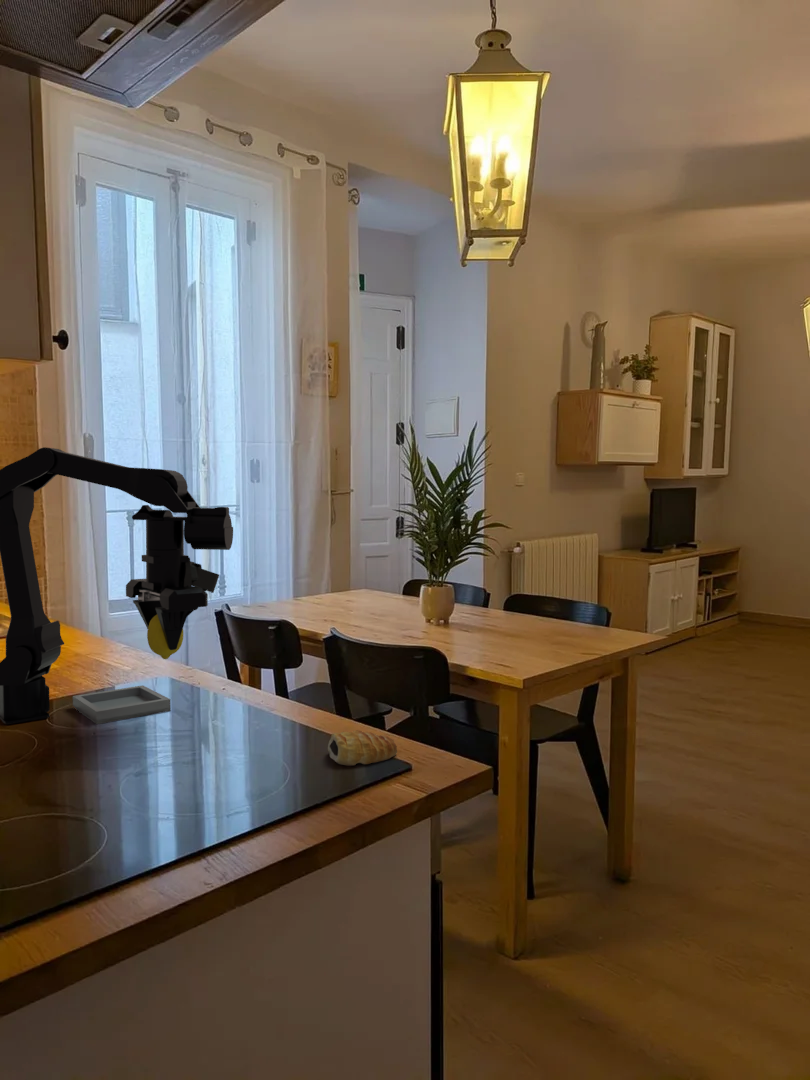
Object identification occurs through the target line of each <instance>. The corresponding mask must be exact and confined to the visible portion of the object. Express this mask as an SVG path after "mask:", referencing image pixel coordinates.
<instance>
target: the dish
mask: <svg viewBox="0 0 810 1080" xmlns="http://www.w3.org/2000/svg"><path fill="white" fill-rule="evenodd" d="M73 706H74V707H75V708H76V709H77V710H78V711H79V712H78V711H77V710H76V711H77V712H78V713H80V714H81V713H82V714H81V715H82V716H84V717H85V718H87V719H88V720H90V721H91V722H93V723H94V724H96V725H100V724H105V723H112V722H116V721H122V720H128V719H134V718H139V717H145V716H151V715H156V714H161V713H162V714H163V713H168V712H171V710H172V709H171V708H172V707H171V699H170V698H169V697H167V696H165V695H163V694H161V693H159V692H158V691H155V690H153V689H151V688H149V687H147V686H145V685H137V686H130V687H124V688H123V687H122V688H116V689H110V690H105V691H104V690H103V691H98V692H91V693H85V694H78V695H77V694H76V695H73V696H72V707H73Z"/></svg>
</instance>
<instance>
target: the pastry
mask: <svg viewBox="0 0 810 1080" xmlns="http://www.w3.org/2000/svg"><path fill="white" fill-rule="evenodd" d="M327 751H328V753H329V757H330V759H332V760H333V761H334V762H336V764H338V765H343V766H345V767H346V766H356V764H362V765H369V764H371V763H379V762H383V761H386V760H390V759H391V758H393V757H394V756H396V755H397V753H398V746H397V744H396V742H395V739H393V738H392V737H390V736H387V735H385V734H381V735H378V734H377V733H375V732H368V731H362V730H359V729H357V730H353V731H342V732H340V733H339V732H338V733H335V732H334V733H332V734H331V736H330V739H329V740H328V745H327Z"/></svg>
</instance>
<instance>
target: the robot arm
mask: <svg viewBox="0 0 810 1080" xmlns="http://www.w3.org/2000/svg"><path fill="white" fill-rule="evenodd" d="M56 476H63V477H67V478H70V479H75V480H80V481H83V482H88V483H90V484H91V483H92V484H96V485H100V486H103V487H108V488H112V489H117V490H119V491H122V492H124V493H126V494H128V495H130V496H131V497H133V498H136V499H138V500H141V501H142V502H144V503H146V504H142V506H141V507H140V508H139V510H138V511H137V512H135V513H134V514H132V516H131V519H132V520H133V521H145V550H146V551H145V554H141V562H144V563H145V578H134V579H133V578H132V579H130V580H129V581H128V582H127V584H126V585H125V597H127V598H130V599H133V598H134V599H133V600H132V603H133V604H134V605H135V607H136V609H137V611H138V613H139V614H140V616H141V619H142V621H143V623H144V625H145V626H146V630H148V626H149V623H150V621H151V619H152V618H153V617H154V616H155V615H158V618H159V621H160V624H161V627H162V630H163V634H164V637H165V640H166V643H167V645H168V648H169V650H175V649H177V646H178V642H179V639H180V636H181V633H182V629H183V630H184V626H185V624H186V620H187V618H188V616H190V615H191V614H192V613H193V612H194V611H197V610H198V609H199V608H204V607H208V605H209V604H208V603H209V601H208V600H209V599H208V593H207V592H209V593H214V592H215V589H216V585H217V582H218V581H219V577H220V574H219V573H216V572H213V571H210V570H207V569H203V567H202V564H201V563H196V562H195V561H191V557H189V555H186V554H185V553H184V552H185V547H184V544H185V543H186V544H190V546H191V548H192V549H193V550H207V551H208V550H211V551H213V550H215V551H216V550H217V551H219V550H220V551H222V550H223V551H227V550H228V551H229V550H231V548H232V545H233V539H234V526H233V524H232V519H231V515H230V508H229V506H217V507H200V505H199V504H198V503H197V501H196V500H195V499H194V497H193V496H192V494H191V493H190V492H189V491H188V488H189V487H188V484H187V483H188V482H187V480H186V478H185V477H184V475H183V474H182V473H180V472H178V471H176V470H171V469H161V468H145V467H128V466H125V465H122V464H121V465H120V464H117V463H112V462H107V461H104V460H100V459H95V458H93V457H92V458H91V457H87V456H84V455H79V454H74V453H70V452H66V451H64V450H62V449H60V448H54V447H47V446H46V447H40V448H38V449H37V450H36V451H34V452H32V453H31V454H29V455H28V456H26V457H23V458H21V459H19V460H15V461H14V462H13V463H9V464H7V465H6V466H4V467H2V468H1V469H0V561H1V566H2V573H3V577H4V578H3V579H4V584H5V591H6V596H7V601H8V608H9V613H10V621H9V625H8V629H7V633H6V635H5V657H4V658H3V659H2V660H1V661H0V721H1V722H2V723H3V724H4V725H11V724H18V723H19V724H20V723H24V722H31V721H34V720H35V721H36V720H41V719H48V718H50V713H48V712H50V710H51V709H50V708H51V707H50V687H49V685H47V684H46V677H44V676H45V675H47V674H49V672H50V670H51V668H52V667H51V666H52V664H54V663H55V662H56V661H57V660H58V658H59V657H60V656H61V652H62V646H63V645H65V642H64V641H63V638H62V635H61V623H60V621H59V620H55V621H52V622H51V620H50V619H49V618H48V617H47V615H46V613H45V611H44V607H43V601H42V594H41V589H40V582H39V578H38V573H37V572H38V571H37V566H36V561H35V560H36V559H35V554H34V548H33V542H32V535H31V529H30V522H31V518H32V516H33V512H34V508H35V493H36V492H38V491H39V490H41V489H43V488H44V487H46V485H48V483H49V482H51V481H52V480H53V479H54V478H55V477H56ZM150 505H153V506H155V507H165V508H166V509H153V508H152V507H151V506H150ZM175 513H176V514H178V513H179V514H186V516H174V515H173V514H175ZM184 540H185V542H184ZM136 597H137V599H135V598H136Z"/></svg>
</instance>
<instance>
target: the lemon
mask: <svg viewBox="0 0 810 1080" xmlns="http://www.w3.org/2000/svg"><path fill="white" fill-rule="evenodd" d="M146 637H147V639H146V640H147V644H148V646H149V647H148V648H150V650H151V651H152V652H153V653H155V654H156V655H158V656H160V657H161V658H162V659H163V660H169V658H170V657H171V656H172V655H174V654H175V653H177V652H178V651H179V650H180V648H181V647H182V644H183V640H184V628H183V629H182V633H181V636H180V639H179V642H178V646H177V649H175V650H169V648H168V645H167V643H166V640H165V637H164V634H163V630H162V627H161V624H160V621H159V618H158V615H155V616H154V617H153V618H152V619H151V621H150V623H149V626H148V629H147V632H146Z"/></svg>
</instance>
